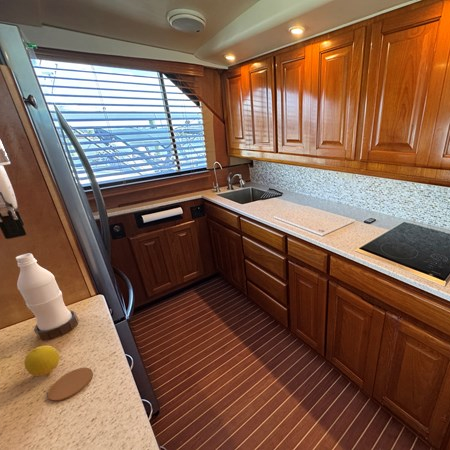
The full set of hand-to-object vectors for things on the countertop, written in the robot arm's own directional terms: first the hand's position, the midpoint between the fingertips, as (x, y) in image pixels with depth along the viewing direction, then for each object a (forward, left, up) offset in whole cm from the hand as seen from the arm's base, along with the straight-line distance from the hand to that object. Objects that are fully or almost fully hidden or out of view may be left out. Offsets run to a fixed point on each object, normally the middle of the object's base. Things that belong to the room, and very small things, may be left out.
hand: (15, 231), depth 57 cm
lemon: (+5, -12, -34) cm, 36 cm away
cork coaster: (+13, -16, -33) cm, 39 cm away
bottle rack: (-5, +4, -33) cm, 34 cm away
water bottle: (-5, +4, -34) cm, 34 cm away
